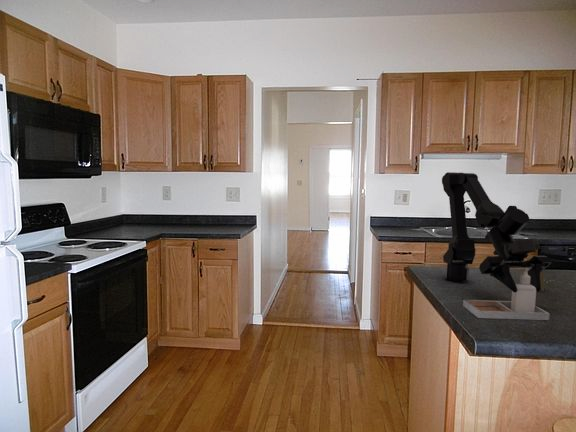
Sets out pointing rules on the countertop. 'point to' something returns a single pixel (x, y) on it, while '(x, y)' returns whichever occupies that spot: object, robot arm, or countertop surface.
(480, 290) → the countertop surface
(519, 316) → the tray
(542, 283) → the cork
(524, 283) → the eye dropper bottle
